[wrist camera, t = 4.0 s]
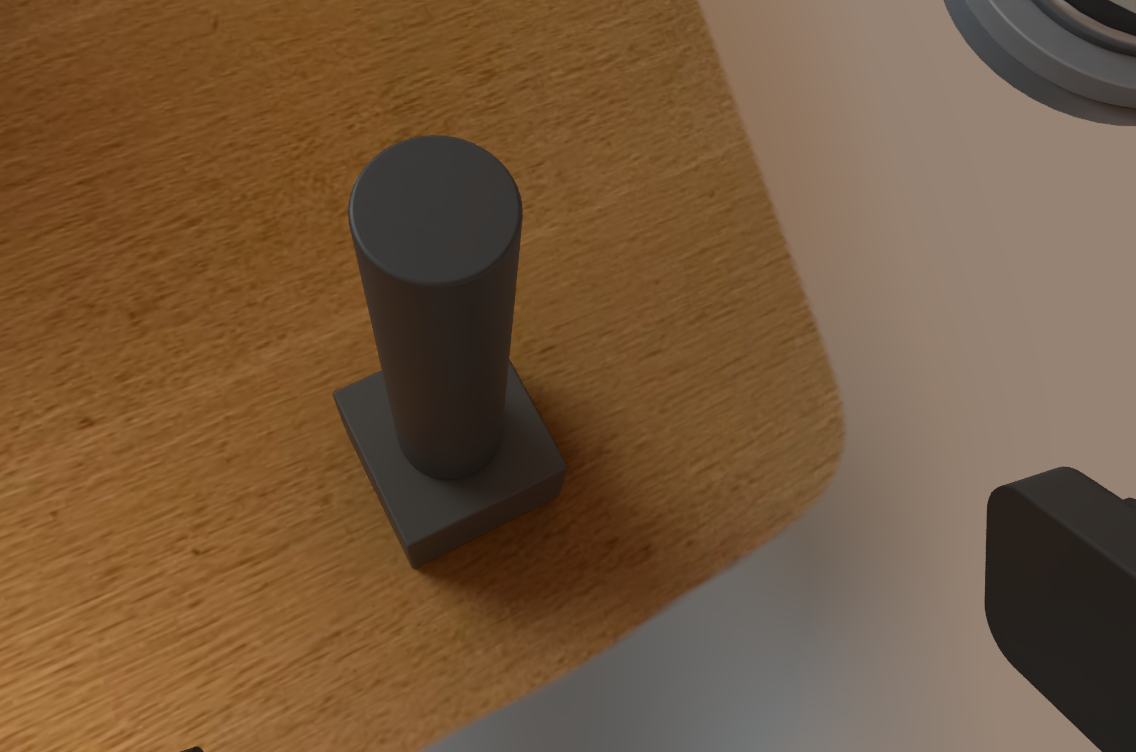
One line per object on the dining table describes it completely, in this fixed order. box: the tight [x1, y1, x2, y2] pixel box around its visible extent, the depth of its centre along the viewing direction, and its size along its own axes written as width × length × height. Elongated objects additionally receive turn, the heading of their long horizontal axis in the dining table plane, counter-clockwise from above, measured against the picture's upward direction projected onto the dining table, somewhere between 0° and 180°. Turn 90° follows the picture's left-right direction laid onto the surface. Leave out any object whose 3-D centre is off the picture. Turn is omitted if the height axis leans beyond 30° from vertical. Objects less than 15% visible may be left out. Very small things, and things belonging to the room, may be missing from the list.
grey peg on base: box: [333, 135, 568, 569], centre depth 22 cm, size 4×4×14 cm
